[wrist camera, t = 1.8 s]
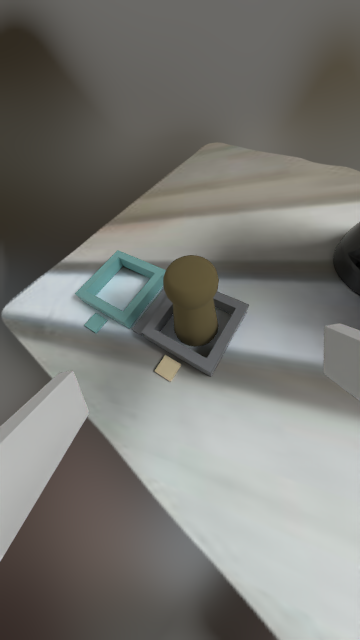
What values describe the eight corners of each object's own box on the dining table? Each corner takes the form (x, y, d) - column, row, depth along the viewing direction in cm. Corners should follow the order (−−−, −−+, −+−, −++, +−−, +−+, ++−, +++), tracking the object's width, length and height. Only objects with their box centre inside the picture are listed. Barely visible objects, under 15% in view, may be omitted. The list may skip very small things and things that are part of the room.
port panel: (122, 259, 34) (117, 250, 33) (246, 312, 26) (248, 304, 25) (68, 315, 30) (60, 308, 28) (198, 399, 22) (197, 397, 20)
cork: (224, 339, 25) (235, 286, 15) (179, 351, 25) (161, 307, 15) (210, 301, 28) (211, 238, 18) (169, 313, 28) (149, 255, 18)
